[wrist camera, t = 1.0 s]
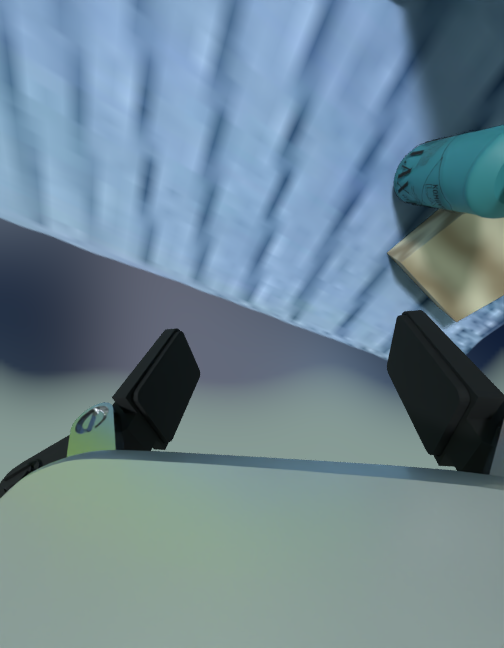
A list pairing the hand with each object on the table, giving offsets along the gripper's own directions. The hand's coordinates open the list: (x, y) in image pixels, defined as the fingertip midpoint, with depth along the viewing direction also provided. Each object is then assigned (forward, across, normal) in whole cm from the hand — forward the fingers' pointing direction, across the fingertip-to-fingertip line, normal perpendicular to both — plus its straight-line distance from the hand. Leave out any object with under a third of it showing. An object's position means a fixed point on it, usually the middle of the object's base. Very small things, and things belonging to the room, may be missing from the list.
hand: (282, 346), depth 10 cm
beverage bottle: (+30, -17, -3) cm, 34 cm away
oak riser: (+29, -25, +7) cm, 39 cm away
